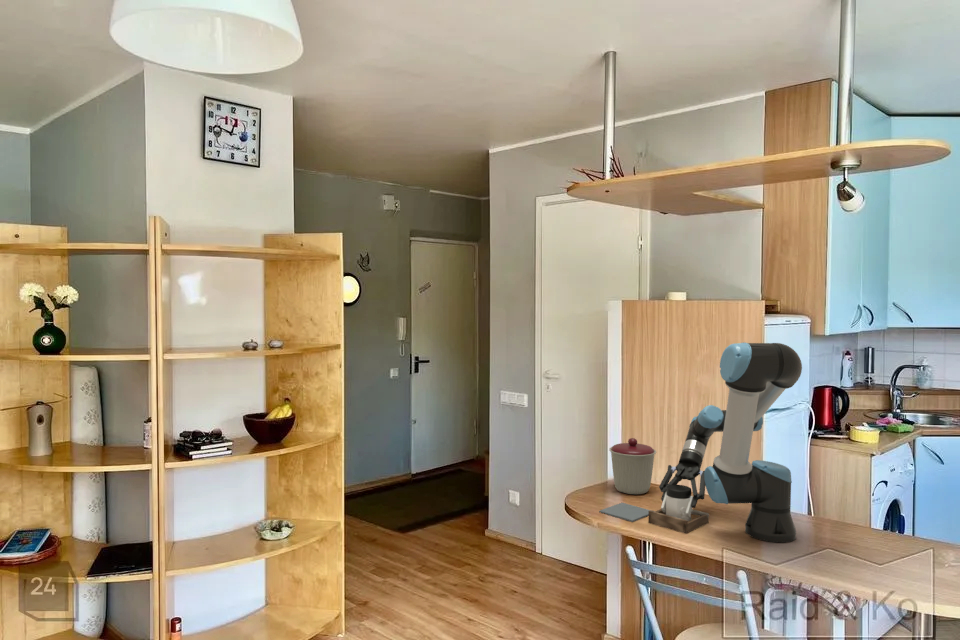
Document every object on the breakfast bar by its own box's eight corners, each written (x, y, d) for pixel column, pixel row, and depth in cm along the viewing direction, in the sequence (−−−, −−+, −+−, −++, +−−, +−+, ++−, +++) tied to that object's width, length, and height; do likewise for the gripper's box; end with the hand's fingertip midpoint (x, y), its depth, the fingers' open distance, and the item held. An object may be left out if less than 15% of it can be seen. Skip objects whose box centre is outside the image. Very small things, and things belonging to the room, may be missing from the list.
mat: (655, 513, 236) (655, 511, 236) (632, 522, 226) (632, 520, 226) (622, 504, 246) (622, 502, 246) (599, 512, 236) (599, 510, 236)
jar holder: (709, 522, 226) (709, 511, 226) (685, 533, 215) (686, 521, 215) (672, 512, 236) (672, 501, 236) (648, 522, 226) (648, 511, 225)
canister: (638, 500, 250) (639, 445, 249) (599, 490, 263) (600, 437, 263) (664, 491, 262) (665, 438, 261) (626, 482, 275) (627, 431, 275)
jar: (670, 527, 221) (671, 491, 221) (661, 519, 229) (661, 484, 229) (696, 526, 222) (696, 490, 222) (685, 518, 230) (685, 483, 230)
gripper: (724, 466, 231) (708, 524, 219) (666, 457, 243) (649, 512, 231) (719, 454, 227) (703, 512, 214) (661, 445, 239) (643, 500, 227)
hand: (675, 512), depth 223 cm, fingers closed on jar, 8 cm apart
